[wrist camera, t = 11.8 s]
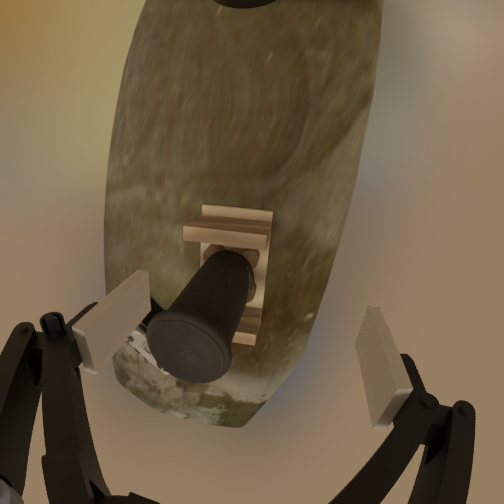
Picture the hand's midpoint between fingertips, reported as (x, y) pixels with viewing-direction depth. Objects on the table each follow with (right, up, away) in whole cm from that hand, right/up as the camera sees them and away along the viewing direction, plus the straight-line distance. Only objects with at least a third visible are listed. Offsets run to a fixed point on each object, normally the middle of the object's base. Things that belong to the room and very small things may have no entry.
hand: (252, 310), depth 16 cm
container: (-4, 0, +28) cm, 28 cm away
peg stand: (-3, +1, +32) cm, 32 cm away
